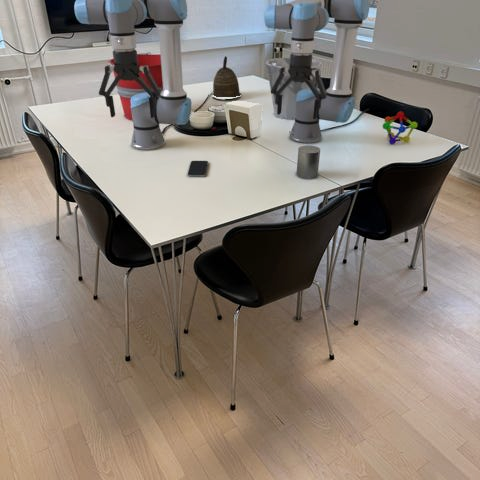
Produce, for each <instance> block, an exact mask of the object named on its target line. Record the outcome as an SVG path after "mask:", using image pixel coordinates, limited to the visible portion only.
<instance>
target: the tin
mask: <svg viewBox="0 0 480 480" xmlns="http://www.w3.org/2000/svg"><path fill="white" fill-rule="evenodd" d="M320 157H321V148H320V147H318V146H317V145H312V144H311V145H310V144H306V145H301V146H299V147H298V150H297V162H296V164H297V165H296V176H297V177H298V178H300V179H303V180H313V179H317V178H318V176H319V167H320Z"/></svg>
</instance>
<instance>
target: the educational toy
mask: <svg viewBox="0 0 480 480" xmlns="http://www.w3.org/2000/svg"><path fill="white" fill-rule="evenodd" d="M397 119H399V124H400V125H399V127H398V126H393V125H391V124H392V123H394V122H395V121H396V120H397ZM403 120H404V121H405V122H407V123H408V124H409V125H407V126H404V123H403ZM417 127H418V122H417V121H411V120H410V119H409V118H408V117H406V116H405V113H404V112H403V111H401V110H400V111H398V112H397V114H396V115H394V116H391V117H390V116H386V117H385V118H384V122H383V123H382V129H383V130H386V132H387V138H388V142H389V145H395V144H396V143H397V142H402V141H403V142H404V143H409V142H410V140H411V138H410V136H411V134H412V132H413V131H414V130H415V129H417ZM392 129H393V130H397V131H398V132H396V134H395V133H394V132H392ZM408 129H409V131H408V133H407V134H406V135H404V136H401V134H403V133H405V132H406V130H408ZM399 135H400V136H399Z"/></svg>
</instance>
